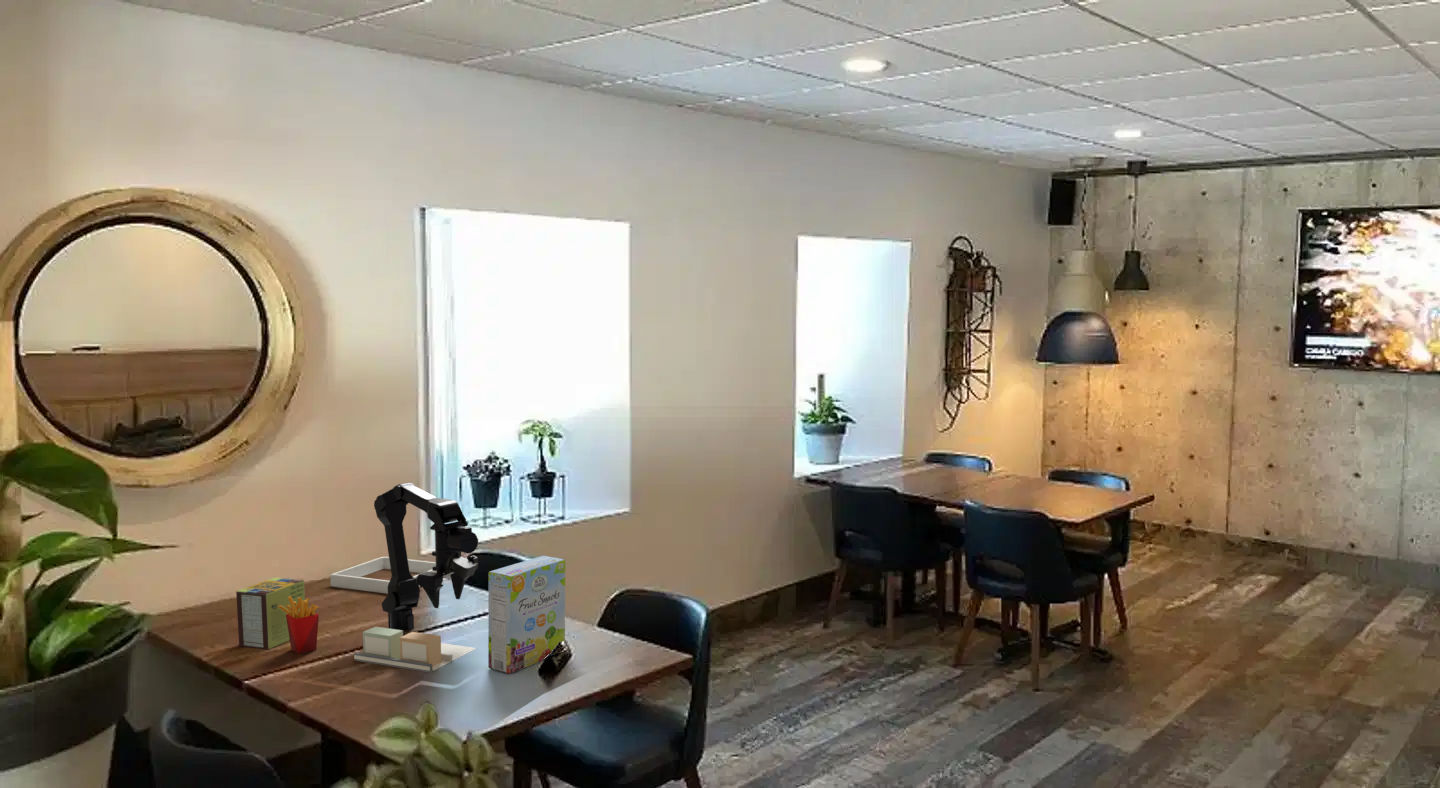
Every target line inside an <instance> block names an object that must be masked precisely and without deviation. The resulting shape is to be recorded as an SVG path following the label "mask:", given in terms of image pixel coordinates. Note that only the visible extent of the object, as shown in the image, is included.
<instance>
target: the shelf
mask: <svg viewBox="0 0 1440 788" xmlns="http://www.w3.org/2000/svg"><path fill="white" fill-rule="evenodd" d="M476 649H477V647H471V646H465V645H464V646H463V645H458V644H457V645H456V644H450V643H443V642H441V663H439V664H437V665H435V666H433V667H432V664H428V663H422V662H416V661H409V660H403V659H401V658H399V659H397V658H390V657H384V656H378V655H371V654H365V653H363V652H359V651H358V652H355V653H353V654H354V661H357V662H363V663H369V664H375V665H381V666H387V667H395V668H400V669H408V670H413V671H418V672H419V671H420V672H423V673H425V672H426V673H432V672H433V671H435V670H438V669H439V668H441V667H444V666H446V665H447V664H449V663H451V662H454V661H455V660H458V659H459V658H461V657H462V656H465V655H467V654H469V653H471V652H472V651H475V650H476Z"/></svg>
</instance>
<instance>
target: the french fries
mask: <svg viewBox="0 0 1440 788" xmlns="http://www.w3.org/2000/svg"><path fill="white" fill-rule="evenodd" d="M288 599H289V602H290V604H291V607H292V609H291V607H290V606H289V605H288V604H287V605H286V607H287V608H288V609H289V611H290V612H289V611H288V610H287V609H286V608H284V607H283V606H281V605H279V606H278V607H279V608H280V609H282V610H283V611H285V612H286V613H287V614H286V619H287V626H288V632H289V638H290V640H289V643H290V649H291V651H293V652H294V653H297V654H298V655H301V654H305V653H308V652H309V653H310V652H312V651H317V644H318V631H319V619H320V618H319V615H320V614H319V613H317V612H316V610H317V609H319V606H318V605H317V604H316V605H315V603H311V605H309V602H310V600H311V599H310V598H308V597H307V598H305V600H304V601H303V600H301V597H298V602H299V603H297V605H296V602H295V601H293V599H292V597H291V596H289V597H288ZM295 605H296V607H295ZM299 607H300V612H298V609H299Z"/></svg>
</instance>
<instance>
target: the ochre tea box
mask: <svg viewBox="0 0 1440 788" xmlns="http://www.w3.org/2000/svg"><path fill="white" fill-rule="evenodd" d="M441 638H442V637H441V635H438V634H437V635H436V634H430V633H424V632H423V633H422V632H415V631H411V632H409V633H406V634H405V635H404V634H403V636H402V637H400V656H401V659H403V660H409V661H416V662H422V663H428V664H432V667H433V666H435V665H437V664H439V663H441V643H442V640H441Z"/></svg>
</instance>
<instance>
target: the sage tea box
mask: <svg viewBox="0 0 1440 788" xmlns="http://www.w3.org/2000/svg"><path fill="white" fill-rule="evenodd" d="M402 636H404V630H396V629H389V627H382V626H381V627H380V626H374V627H372V628H371V627H370V628H369V629H367V630H364V631H362V644H363V645H362V648H363V652H362V653H365V654H371V655H378V656H384V657H390V658H397V659H399V658H401V656H400V637H402Z"/></svg>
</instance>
